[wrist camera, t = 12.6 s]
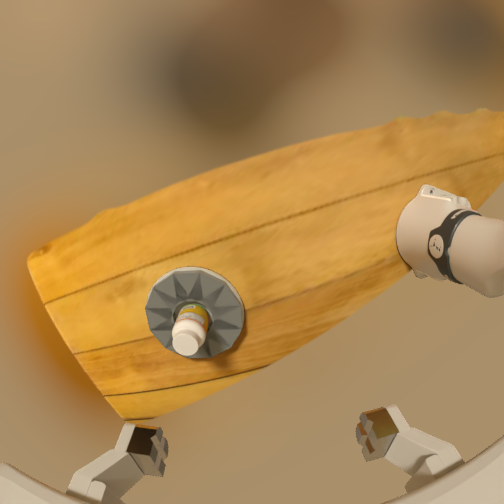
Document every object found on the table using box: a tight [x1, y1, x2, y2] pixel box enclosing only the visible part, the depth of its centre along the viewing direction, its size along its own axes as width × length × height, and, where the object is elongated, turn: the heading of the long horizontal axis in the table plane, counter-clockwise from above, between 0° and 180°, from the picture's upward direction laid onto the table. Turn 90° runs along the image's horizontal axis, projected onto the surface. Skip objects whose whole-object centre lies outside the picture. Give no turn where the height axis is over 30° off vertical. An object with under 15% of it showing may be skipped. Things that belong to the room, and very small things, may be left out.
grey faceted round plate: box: [145, 266, 244, 358], centre depth 47 cm, size 18×18×2 cm
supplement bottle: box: [172, 303, 209, 356], centre depth 42 cm, size 5×5×10 cm
